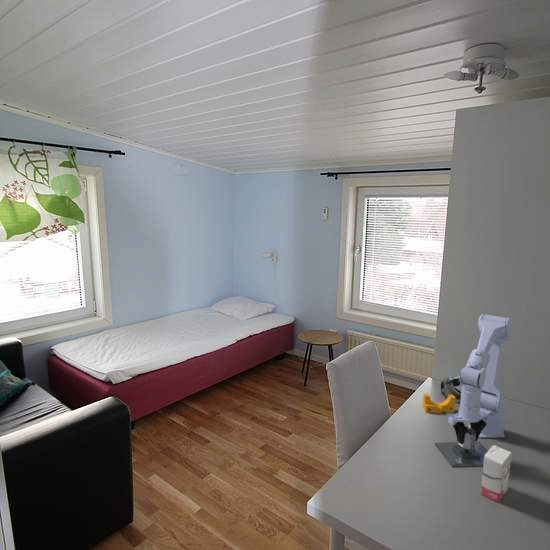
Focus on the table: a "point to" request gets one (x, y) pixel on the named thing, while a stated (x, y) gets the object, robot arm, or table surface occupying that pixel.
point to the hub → (469, 439)
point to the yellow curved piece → (438, 405)
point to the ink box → (496, 473)
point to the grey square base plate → (462, 454)
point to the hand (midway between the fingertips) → (467, 441)
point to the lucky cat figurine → (451, 388)
